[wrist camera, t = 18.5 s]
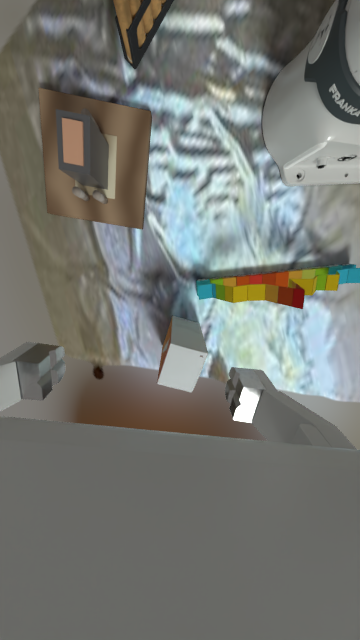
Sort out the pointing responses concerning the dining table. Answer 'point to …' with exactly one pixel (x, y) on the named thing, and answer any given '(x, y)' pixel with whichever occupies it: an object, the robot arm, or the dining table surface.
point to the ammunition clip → (138, 25)
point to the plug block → (82, 149)
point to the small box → (182, 355)
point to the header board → (123, 165)
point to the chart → (278, 284)
